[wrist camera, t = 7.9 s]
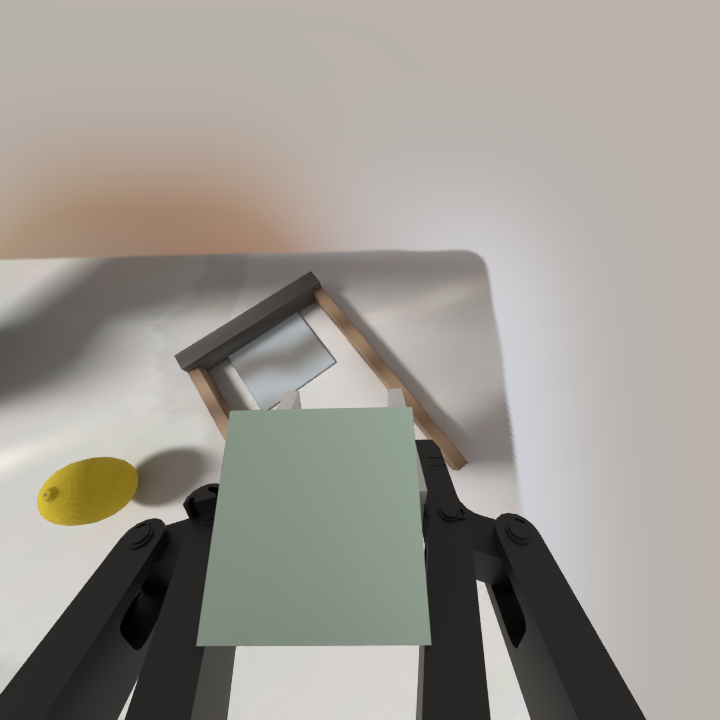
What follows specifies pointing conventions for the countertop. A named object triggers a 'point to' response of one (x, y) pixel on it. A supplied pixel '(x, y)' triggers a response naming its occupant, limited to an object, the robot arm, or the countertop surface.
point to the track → (288, 357)
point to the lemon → (87, 491)
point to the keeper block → (317, 532)
